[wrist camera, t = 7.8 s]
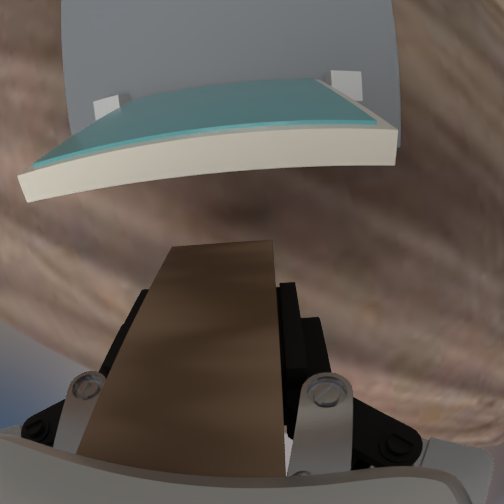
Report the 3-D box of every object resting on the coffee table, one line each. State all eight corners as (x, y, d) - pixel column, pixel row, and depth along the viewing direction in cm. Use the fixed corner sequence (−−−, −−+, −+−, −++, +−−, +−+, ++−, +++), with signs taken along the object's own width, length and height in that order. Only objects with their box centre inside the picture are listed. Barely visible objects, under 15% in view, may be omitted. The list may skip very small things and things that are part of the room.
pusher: (272, 239, 12) (287, 525, 3) (277, 320, 14) (285, 551, 5) (171, 246, 12) (62, 492, 4) (190, 324, 14) (139, 538, 5)
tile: (320, 95, 15) (319, 77, 14) (394, 165, 7) (398, 126, 6) (134, 115, 15) (131, 98, 15) (27, 202, 7) (16, 172, 7)
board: (364, -80, 10) (377, -99, 7) (391, 143, 18) (411, 152, 15) (74, -42, 11) (52, -53, 9) (89, 169, 19) (66, 182, 16)
